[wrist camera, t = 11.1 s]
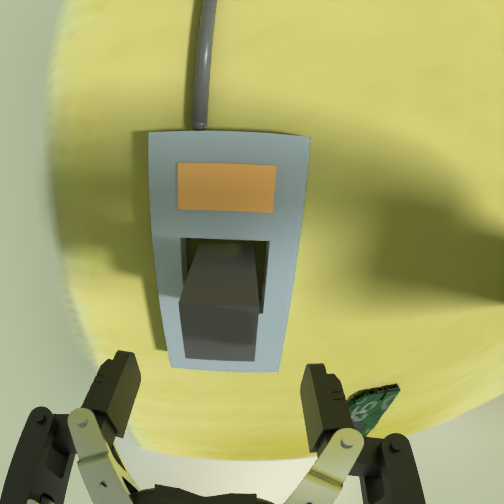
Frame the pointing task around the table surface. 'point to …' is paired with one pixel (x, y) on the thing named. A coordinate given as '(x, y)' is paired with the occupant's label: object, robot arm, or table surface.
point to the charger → (221, 303)
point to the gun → (370, 407)
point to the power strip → (226, 210)
